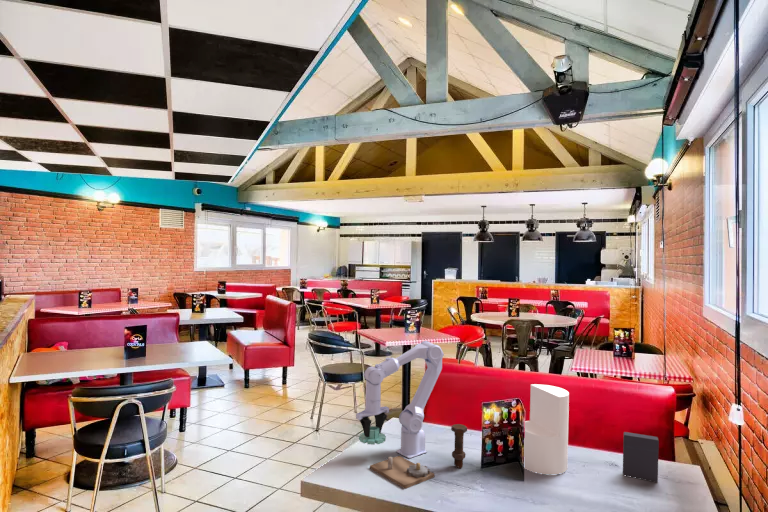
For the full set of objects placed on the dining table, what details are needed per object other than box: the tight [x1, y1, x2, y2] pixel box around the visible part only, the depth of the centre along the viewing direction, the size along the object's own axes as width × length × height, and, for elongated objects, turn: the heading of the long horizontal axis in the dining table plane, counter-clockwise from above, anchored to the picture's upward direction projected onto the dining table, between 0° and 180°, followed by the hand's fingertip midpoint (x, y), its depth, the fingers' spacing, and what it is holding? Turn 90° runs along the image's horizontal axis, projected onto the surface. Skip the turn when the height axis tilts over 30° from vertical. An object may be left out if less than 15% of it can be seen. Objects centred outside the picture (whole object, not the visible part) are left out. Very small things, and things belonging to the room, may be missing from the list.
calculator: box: [622, 431, 660, 483], centre depth 173 cm, size 11×4×15 cm, turn 65°
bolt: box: [450, 423, 468, 469], centre depth 179 cm, size 6×5×15 cm
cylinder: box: [524, 383, 570, 475], centre depth 182 cm, size 17×17×28 cm
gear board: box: [369, 455, 436, 490], centre depth 173 cm, size 14×19×5 cm
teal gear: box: [358, 425, 387, 446], centre depth 185 cm, size 10×10×4 cm
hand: (372, 434), depth 185 cm, fingers closed on teal gear, 5 cm apart
